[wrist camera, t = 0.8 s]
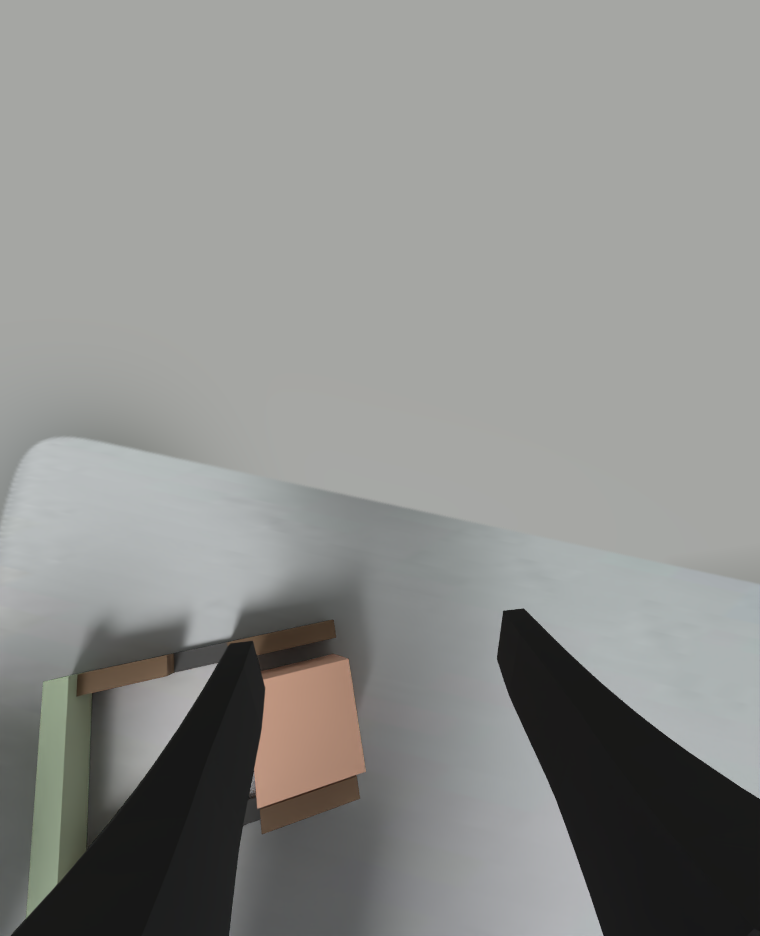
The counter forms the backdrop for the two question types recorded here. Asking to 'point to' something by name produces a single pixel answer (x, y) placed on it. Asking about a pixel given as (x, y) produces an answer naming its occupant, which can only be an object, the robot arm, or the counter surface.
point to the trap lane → (69, 756)
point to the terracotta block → (307, 729)
